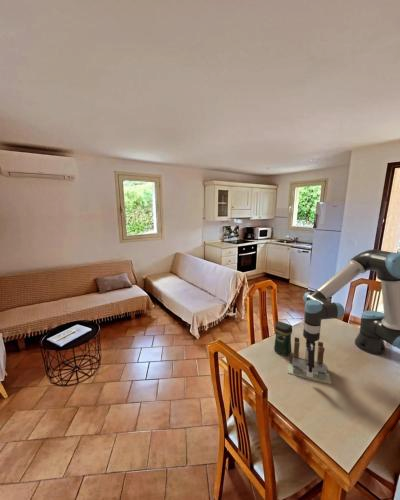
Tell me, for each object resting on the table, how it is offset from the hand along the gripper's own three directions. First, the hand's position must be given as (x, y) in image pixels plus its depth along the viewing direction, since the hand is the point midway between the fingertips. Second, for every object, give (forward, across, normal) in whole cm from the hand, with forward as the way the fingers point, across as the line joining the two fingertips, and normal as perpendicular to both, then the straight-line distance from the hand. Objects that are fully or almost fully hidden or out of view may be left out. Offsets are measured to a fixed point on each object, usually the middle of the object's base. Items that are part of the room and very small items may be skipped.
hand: (308, 367), depth 116 cm
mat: (+4, 0, 0) cm, 4 cm away
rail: (+1, 0, 0) cm, 1 cm away
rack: (+4, -8, 0) cm, 9 cm away
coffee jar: (+4, -15, -13) cm, 20 cm away
